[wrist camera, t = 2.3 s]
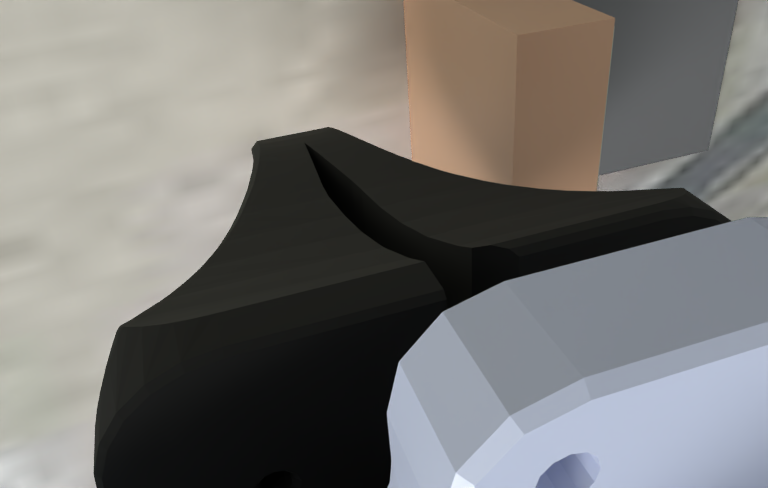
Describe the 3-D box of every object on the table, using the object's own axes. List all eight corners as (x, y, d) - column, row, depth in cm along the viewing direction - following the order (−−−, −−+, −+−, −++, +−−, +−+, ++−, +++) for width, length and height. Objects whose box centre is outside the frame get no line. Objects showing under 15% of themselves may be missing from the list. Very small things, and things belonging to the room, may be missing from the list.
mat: (698, 144, 19) (708, 150, 18) (494, 190, 17) (501, 198, 17) (744, -103, 16) (758, -101, 15) (498, -69, 14) (507, -67, 14)
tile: (480, 174, 17) (593, 286, 13) (413, 189, 17) (508, 309, 13) (480, -42, 14) (623, 16, 10) (401, -30, 14) (517, 35, 10)
